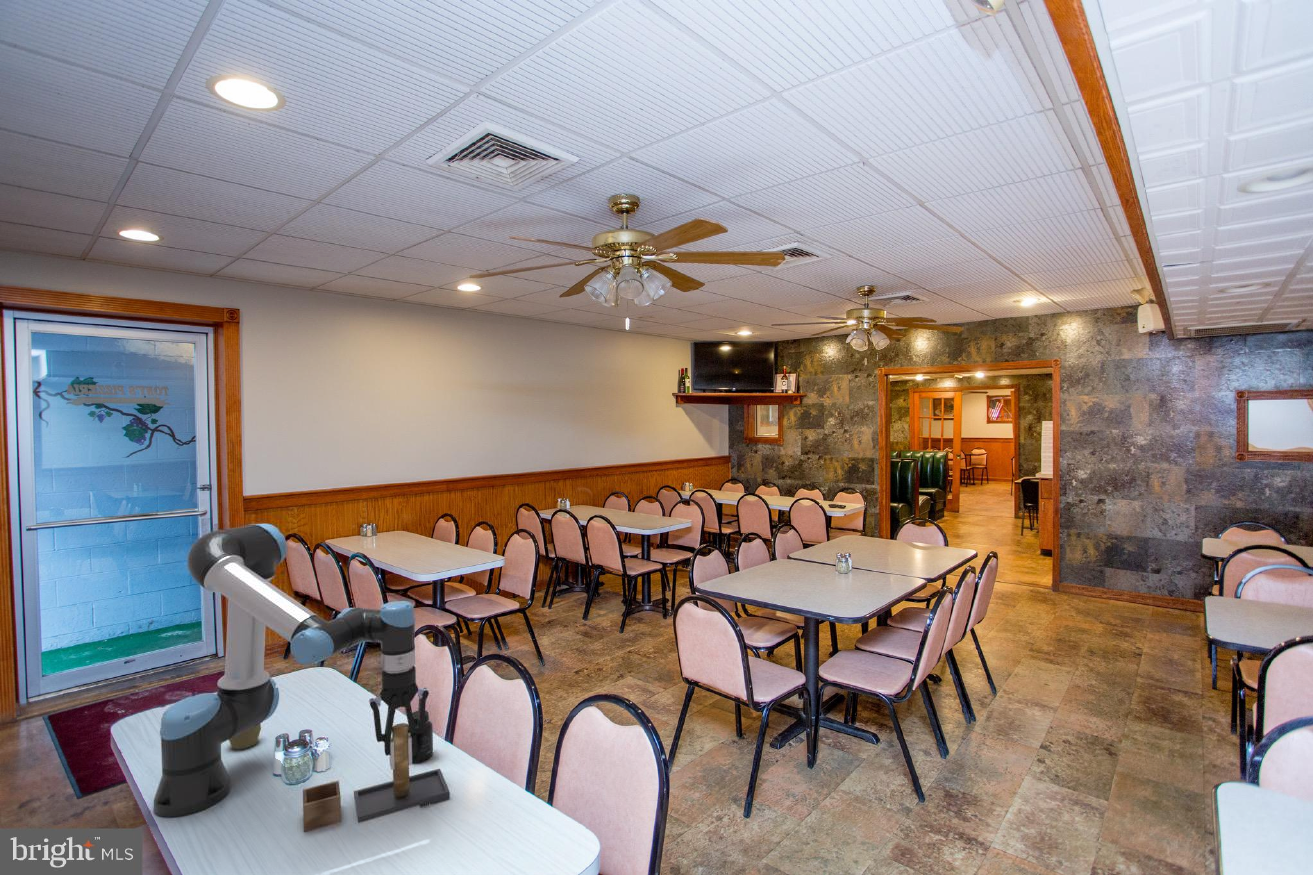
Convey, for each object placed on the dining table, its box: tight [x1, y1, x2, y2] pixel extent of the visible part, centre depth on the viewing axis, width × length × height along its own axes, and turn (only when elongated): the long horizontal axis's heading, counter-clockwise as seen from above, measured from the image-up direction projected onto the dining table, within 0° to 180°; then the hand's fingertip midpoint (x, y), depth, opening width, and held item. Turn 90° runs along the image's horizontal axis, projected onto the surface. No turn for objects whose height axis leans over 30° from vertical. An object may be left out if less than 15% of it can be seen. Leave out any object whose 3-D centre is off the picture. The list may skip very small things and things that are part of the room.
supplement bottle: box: [408, 710, 434, 764], centre depth 173 cm, size 7×7×12 cm
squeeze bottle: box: [228, 723, 262, 750], centre depth 182 cm, size 8×8×18 cm
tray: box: [353, 768, 451, 823], centre depth 154 cm, size 20×12×2 cm, turn 119°
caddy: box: [302, 780, 342, 833], centre depth 146 cm, size 7×7×6 cm
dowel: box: [391, 722, 410, 797], centre depth 154 cm, size 4×4×16 cm
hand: (400, 764), depth 154 cm, fingers closed on dowel, 3 cm apart
